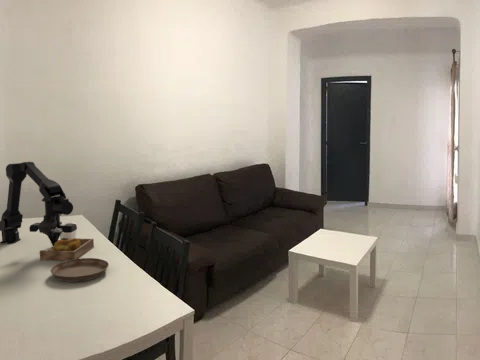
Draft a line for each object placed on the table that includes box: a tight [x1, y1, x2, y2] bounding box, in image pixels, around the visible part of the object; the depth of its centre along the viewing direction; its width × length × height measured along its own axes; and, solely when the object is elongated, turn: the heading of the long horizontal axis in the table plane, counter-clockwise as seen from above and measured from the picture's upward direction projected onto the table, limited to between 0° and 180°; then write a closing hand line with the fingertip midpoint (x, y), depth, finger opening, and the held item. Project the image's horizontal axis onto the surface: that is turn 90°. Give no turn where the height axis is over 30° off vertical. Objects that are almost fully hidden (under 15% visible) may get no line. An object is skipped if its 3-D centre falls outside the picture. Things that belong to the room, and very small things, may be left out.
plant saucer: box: [50, 257, 110, 283], centre depth 149 cm, size 21×21×3 cm
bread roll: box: [49, 239, 80, 251], centre depth 171 cm, size 13×10×8 cm
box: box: [39, 237, 95, 262], centre depth 173 cm, size 15×19×4 cm
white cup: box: [59, 220, 77, 240], centre depth 187 cm, size 8×8×10 cm
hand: (54, 246), depth 173 cm, fingers closed
